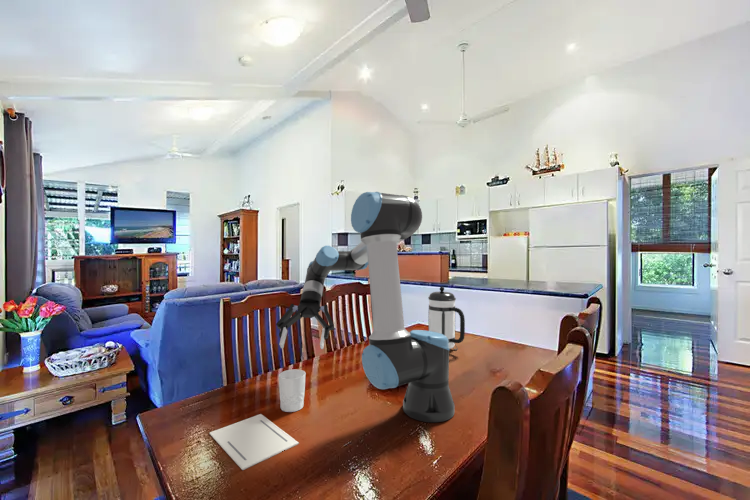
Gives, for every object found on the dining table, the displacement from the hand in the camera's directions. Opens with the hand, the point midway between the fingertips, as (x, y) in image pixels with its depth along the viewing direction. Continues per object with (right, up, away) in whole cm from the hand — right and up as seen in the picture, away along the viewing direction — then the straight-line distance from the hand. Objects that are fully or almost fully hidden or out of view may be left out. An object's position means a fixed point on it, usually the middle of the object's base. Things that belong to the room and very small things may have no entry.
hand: (301, 346), depth 112 cm
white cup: (0, -15, -11) cm, 19 cm away
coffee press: (+58, -15, +47) cm, 76 cm away
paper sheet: (-6, -15, -28) cm, 32 cm away
